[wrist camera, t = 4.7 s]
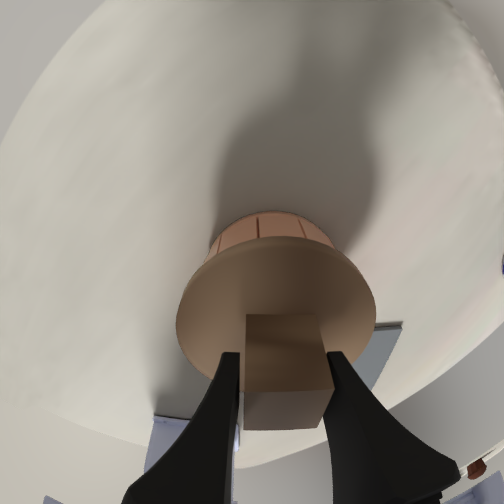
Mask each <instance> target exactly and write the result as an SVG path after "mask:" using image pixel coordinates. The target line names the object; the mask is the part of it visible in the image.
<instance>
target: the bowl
mask: <svg viewBox="0 0 504 504" xmlns="http://www.w3.org/2000/svg"><path fill="white" fill-rule="evenodd" d="M269 236H292V237H302V238H306V239H311V240H315V241H318V242H320V243H323V244H326V245H328V246H330V247H332V248H334V246H333V244H332V242H331V241H330V239H329V238H328V236H327V235H325V234H324V233H323V232H322V231H321V230H320V229H319V228H318V227H317V226H316V225H315V224H313V223H312V222H311V221H309V220H307V219H305V218H303V217H301V216H298V215H296V214H292V213H288V212H281V211H265V212H258V213H254V214H251V215H248V216H245V217H243V218H241V219H239V220H237V221H235V222H234V223H232V224H231V225H229V226H228V227H227V228H226V229H224V230H223V231H222V233H221V234H220V235H219V236H218V237H217V239H216V240H215V241H214V243H213V245H212V247H211V249H210V252H209V254H208V256H207V258H206V259H205V261H204V263H205V262H207V261H208V260H209V259H211V258H212V257H213V256H214V255H216V254H218V253H220V252H221V251H223V250H225V249H227V248H229V247H231V246H234V245H236V244H238V243H241V242H245V241H248V240H252V239H256V238H263V237H269ZM334 249H335V248H334Z"/></svg>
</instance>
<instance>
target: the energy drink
mask: <svg viewBox="0 0 504 504" xmlns="http://www.w3.org/2000/svg"><path fill="white" fill-rule="evenodd" d="M502 275H503V278H504V257H503V261H502Z"/></svg>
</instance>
